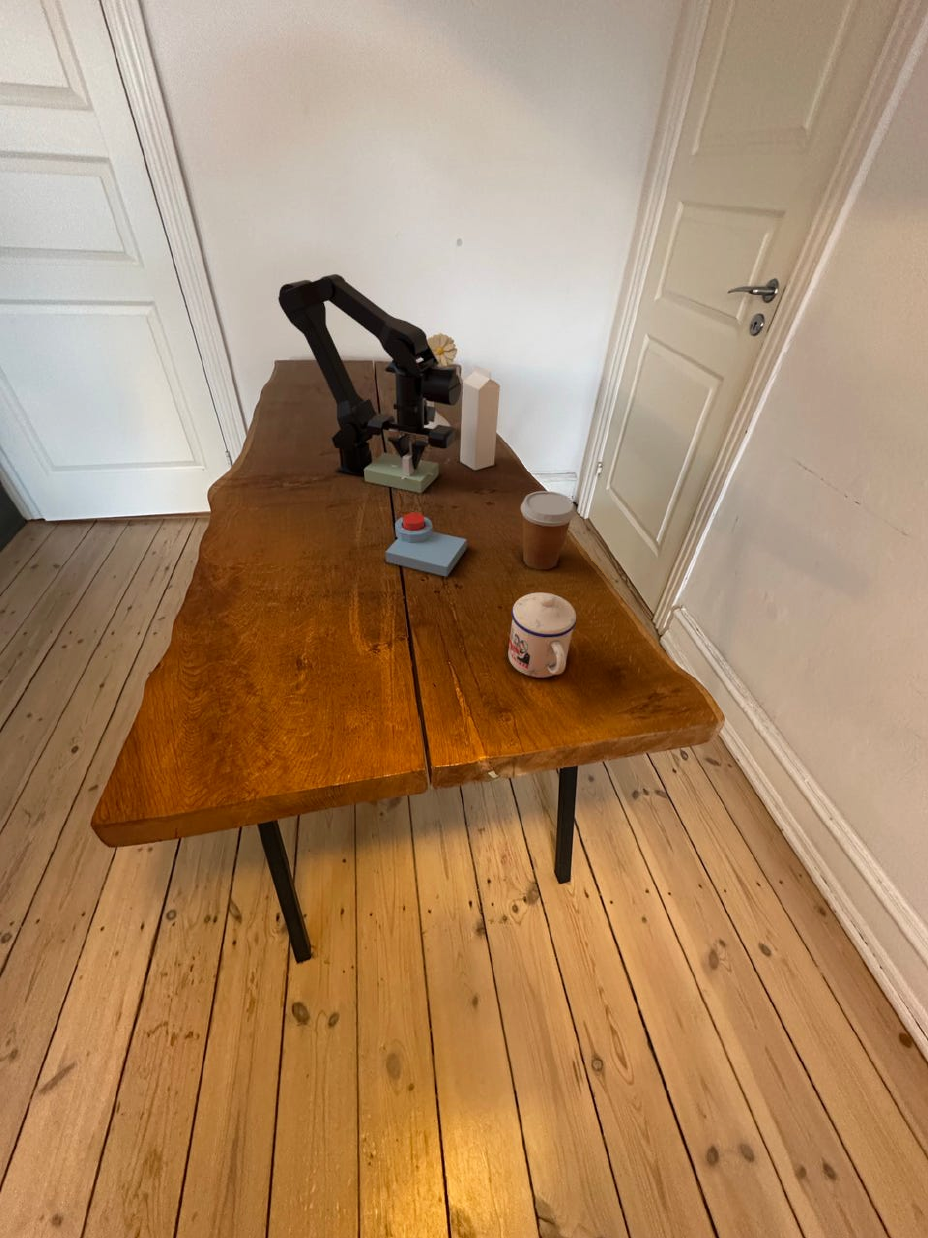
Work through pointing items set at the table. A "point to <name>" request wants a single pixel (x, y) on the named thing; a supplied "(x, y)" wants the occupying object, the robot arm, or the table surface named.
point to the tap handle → (408, 464)
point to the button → (413, 522)
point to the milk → (479, 419)
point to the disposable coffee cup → (545, 527)
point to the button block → (425, 549)
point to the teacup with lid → (541, 634)
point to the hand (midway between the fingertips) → (411, 468)
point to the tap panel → (400, 473)
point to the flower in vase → (444, 355)
